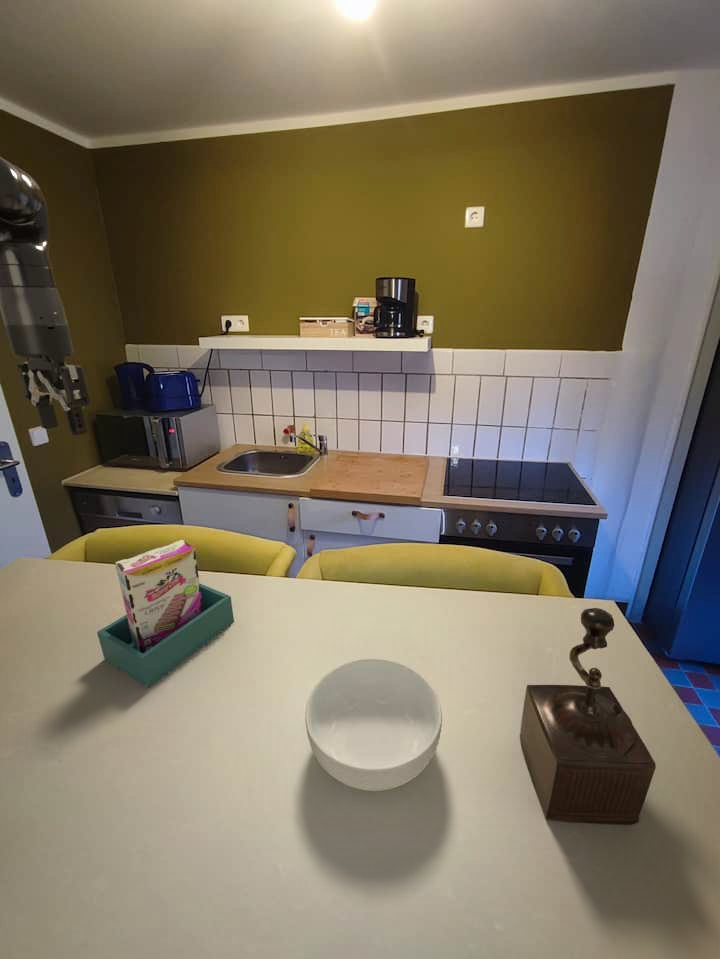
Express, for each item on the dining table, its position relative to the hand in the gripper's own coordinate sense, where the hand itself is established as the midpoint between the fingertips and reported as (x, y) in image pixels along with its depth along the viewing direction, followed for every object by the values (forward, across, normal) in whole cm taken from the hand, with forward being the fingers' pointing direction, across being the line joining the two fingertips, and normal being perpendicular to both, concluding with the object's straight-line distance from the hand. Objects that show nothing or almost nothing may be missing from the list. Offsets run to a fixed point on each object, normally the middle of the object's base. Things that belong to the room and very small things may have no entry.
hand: (64, 431), depth 68 cm
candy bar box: (+36, +15, +2) cm, 39 cm away
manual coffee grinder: (+36, +77, +13) cm, 86 cm away
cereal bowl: (+36, +55, +2) cm, 66 cm away
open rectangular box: (+36, +15, +2) cm, 39 cm away
